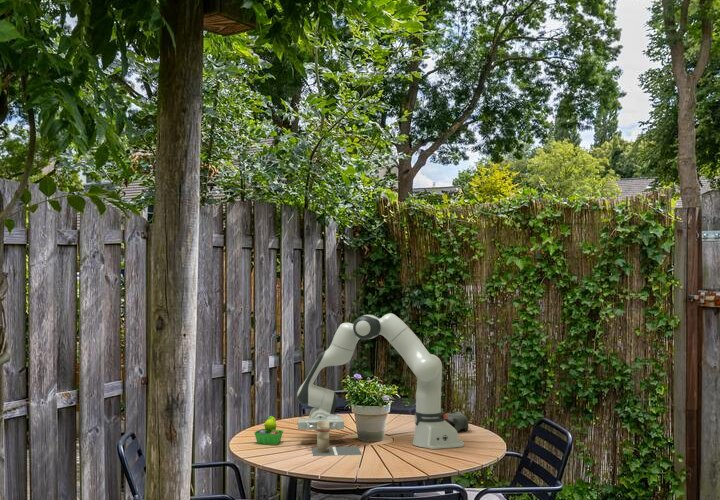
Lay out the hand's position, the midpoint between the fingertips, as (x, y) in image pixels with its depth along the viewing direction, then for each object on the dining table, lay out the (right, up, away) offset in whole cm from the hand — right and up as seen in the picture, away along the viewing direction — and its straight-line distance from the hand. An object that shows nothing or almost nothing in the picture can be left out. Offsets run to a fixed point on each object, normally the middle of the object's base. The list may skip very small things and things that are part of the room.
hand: (321, 427), depth 275 cm
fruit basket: (-24, -10, +12) cm, 29 cm away
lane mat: (+6, -9, -7) cm, 13 cm away
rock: (+62, -12, +40) cm, 75 cm away
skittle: (+1, -8, -7) cm, 11 cm away
